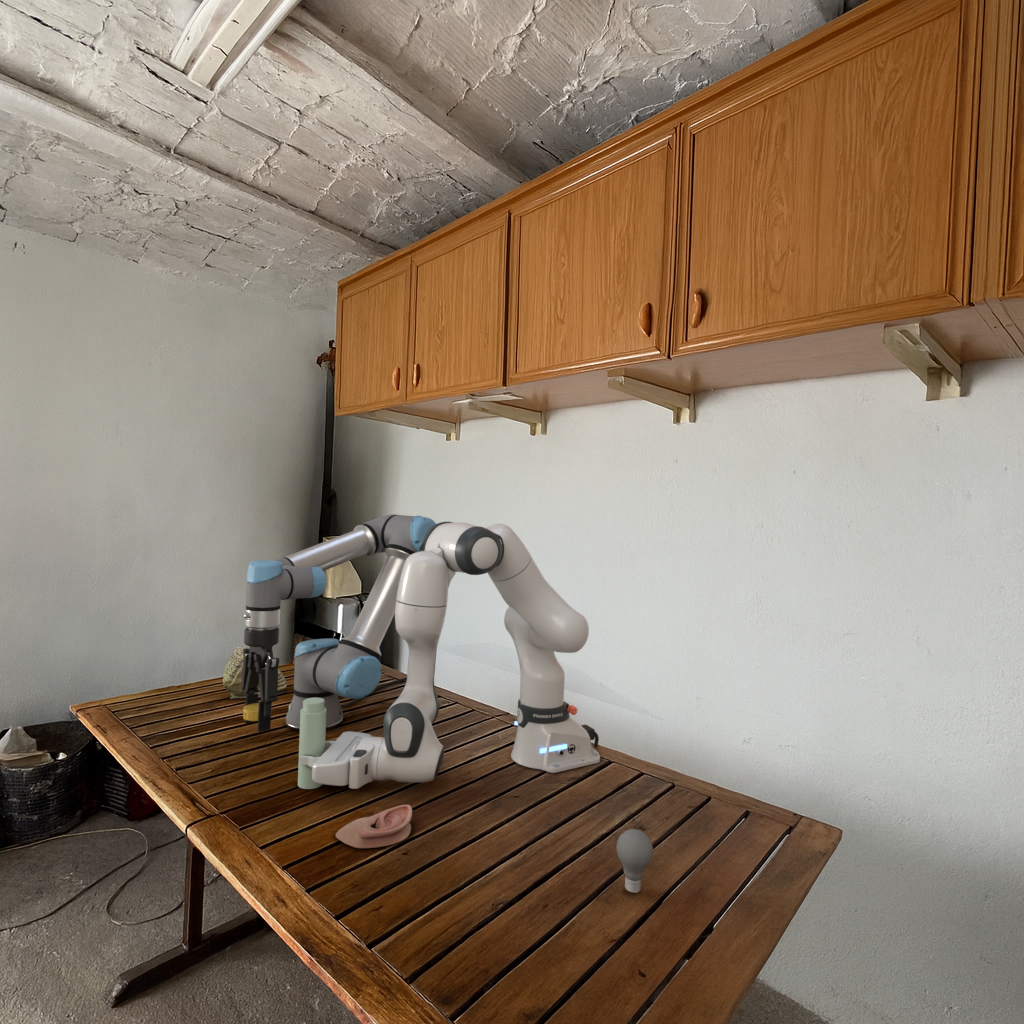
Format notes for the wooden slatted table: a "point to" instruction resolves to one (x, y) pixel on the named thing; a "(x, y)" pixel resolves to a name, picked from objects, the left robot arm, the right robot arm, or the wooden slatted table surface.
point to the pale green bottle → (311, 738)
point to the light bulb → (634, 857)
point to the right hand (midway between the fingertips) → (307, 753)
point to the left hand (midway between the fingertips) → (257, 726)
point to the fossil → (234, 676)
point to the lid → (252, 712)
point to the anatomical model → (378, 828)
